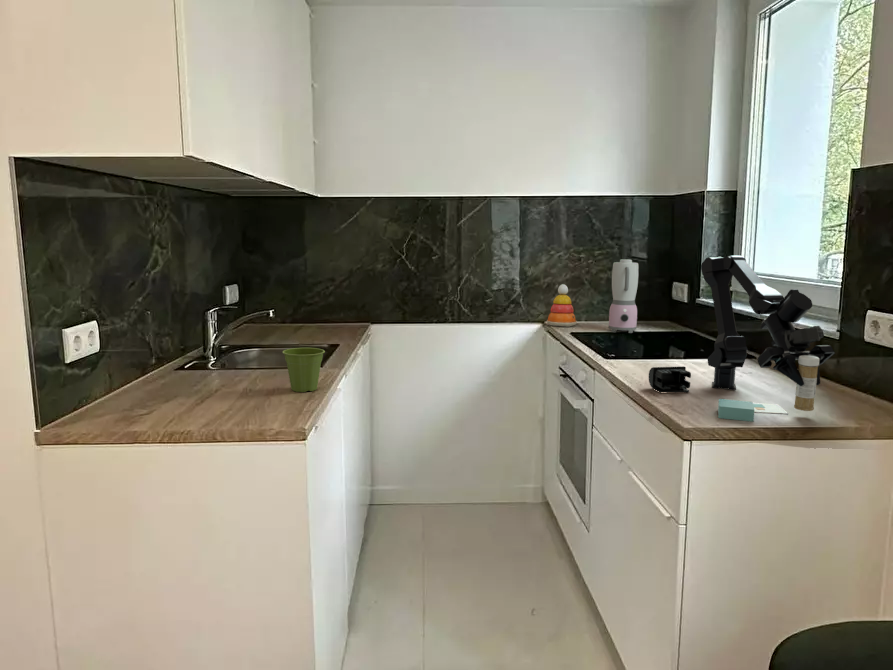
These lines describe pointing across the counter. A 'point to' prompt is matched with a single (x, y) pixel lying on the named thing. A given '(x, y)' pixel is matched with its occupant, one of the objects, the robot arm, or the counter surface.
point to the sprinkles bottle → (806, 383)
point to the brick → (736, 410)
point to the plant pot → (303, 367)
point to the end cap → (669, 379)
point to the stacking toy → (562, 310)
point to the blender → (624, 296)
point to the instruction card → (768, 408)
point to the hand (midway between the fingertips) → (810, 384)
